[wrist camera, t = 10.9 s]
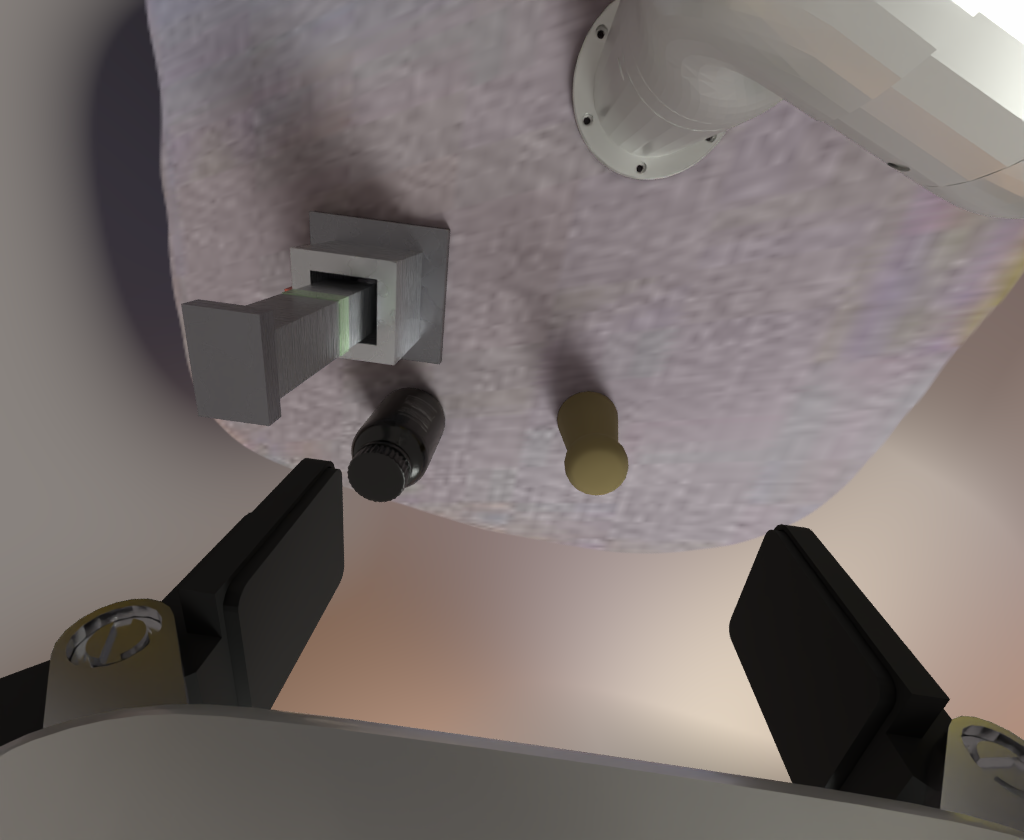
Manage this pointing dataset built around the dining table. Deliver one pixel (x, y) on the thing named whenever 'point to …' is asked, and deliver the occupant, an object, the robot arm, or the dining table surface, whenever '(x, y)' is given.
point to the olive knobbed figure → (592, 443)
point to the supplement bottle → (395, 444)
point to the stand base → (383, 280)
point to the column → (271, 345)
